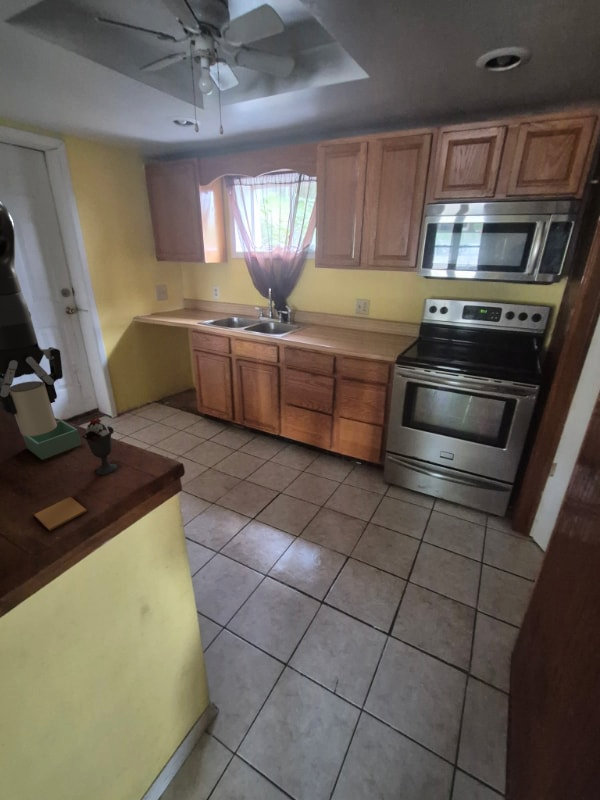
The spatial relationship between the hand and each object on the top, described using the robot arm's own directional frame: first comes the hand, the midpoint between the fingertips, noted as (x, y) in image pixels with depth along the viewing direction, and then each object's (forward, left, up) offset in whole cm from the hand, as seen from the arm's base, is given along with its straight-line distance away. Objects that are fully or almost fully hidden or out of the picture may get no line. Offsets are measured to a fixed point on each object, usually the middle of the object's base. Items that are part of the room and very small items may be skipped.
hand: (32, 407), depth 71 cm
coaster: (-2, -5, -22) cm, 22 cm away
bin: (+9, +24, -22) cm, 34 cm away
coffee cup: (0, 0, -5) cm, 5 cm away
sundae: (+12, +3, -22) cm, 25 cm away
